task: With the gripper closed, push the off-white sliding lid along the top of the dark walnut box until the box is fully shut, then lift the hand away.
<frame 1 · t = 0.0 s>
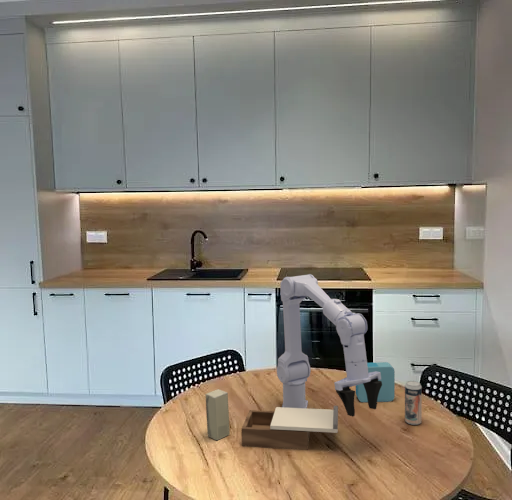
hand: (362, 412, 127), 11 cm above the table, tool pointing down, fingers open, 7 cm apart
box: (218, 436, 139), on the table
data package: (374, 400, 161), on the table
walnut box: (277, 437, 137), on the table
beer can: (413, 422, 144), on the table
lid: (305, 417, 135), point 6 cm above the table, slide at 8.0 cm
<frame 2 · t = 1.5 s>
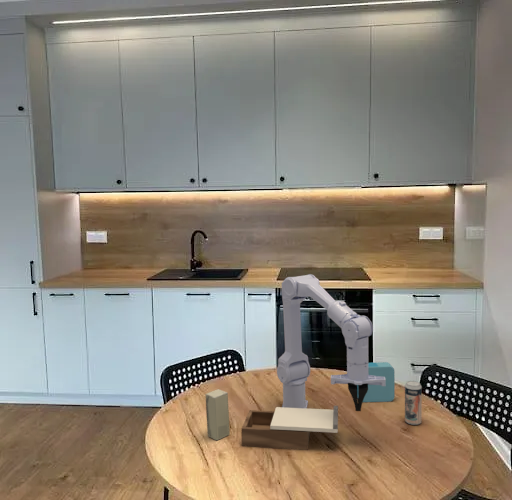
hand: (358, 409, 132), 9 cm above the table, tool pointing down, fingers closed
nothing on the table moved.
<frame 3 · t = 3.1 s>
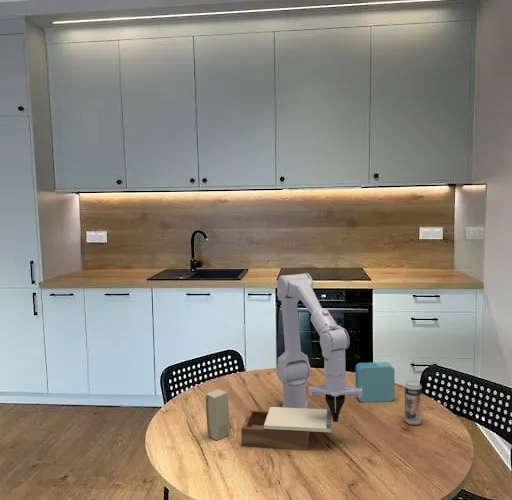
hand: (335, 420, 133), 6 cm above the table, tool pointing down, fingers closed
lid: (298, 416, 135), point 6 cm above the table, slide at 6.2 cm, touching gripper
everything else where it was.
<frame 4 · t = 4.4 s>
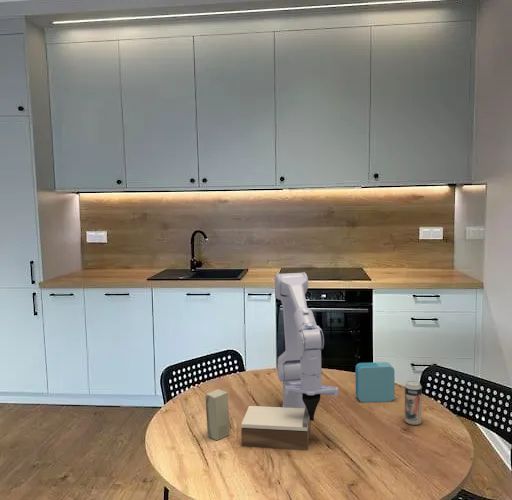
hand: (311, 419, 134), 6 cm above the table, tool pointing down, fingers closed
lid: (276, 415, 136), point 6 cm above the table, slide at -0.1 cm, touching gripper
everything else where it was.
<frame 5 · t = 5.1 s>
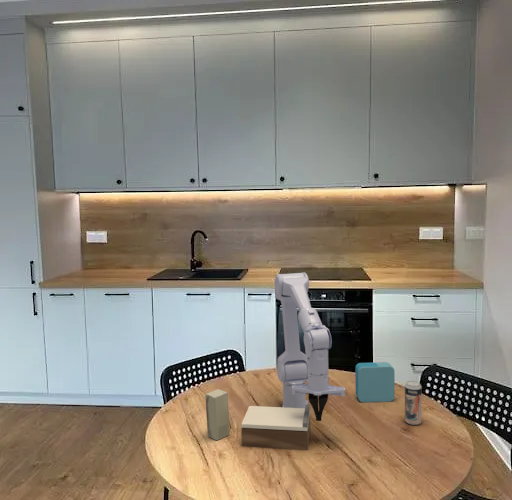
hand: (318, 419, 134), 6 cm above the table, tool pointing down, fingers closed
lid: (276, 415, 136), point 6 cm above the table, slide at 0.0 cm
everything else where it was.
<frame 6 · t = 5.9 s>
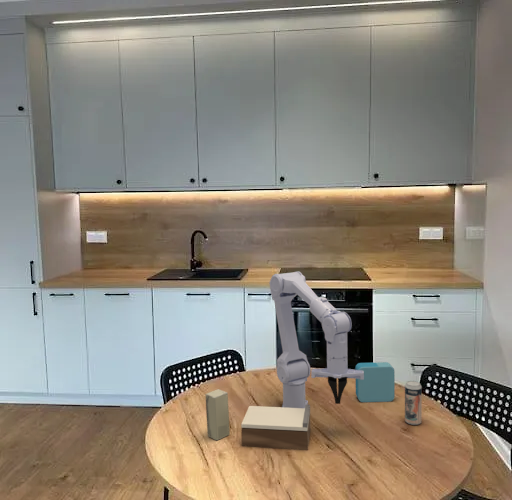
hand: (337, 402, 137), 9 cm above the table, tool pointing down, fingers closed
nothing on the table moved.
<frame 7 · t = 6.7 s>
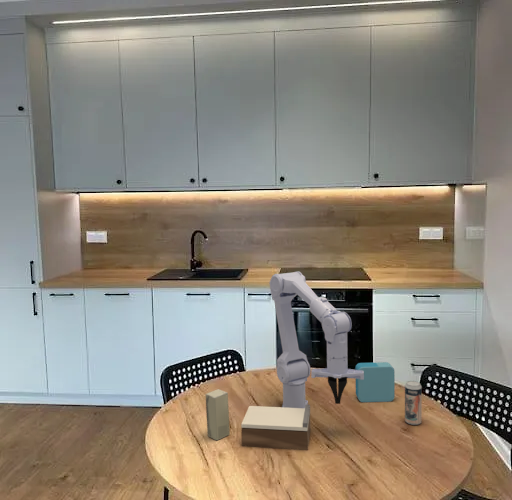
hand: (337, 402, 137), 9 cm above the table, tool pointing down, fingers closed
nothing on the table moved.
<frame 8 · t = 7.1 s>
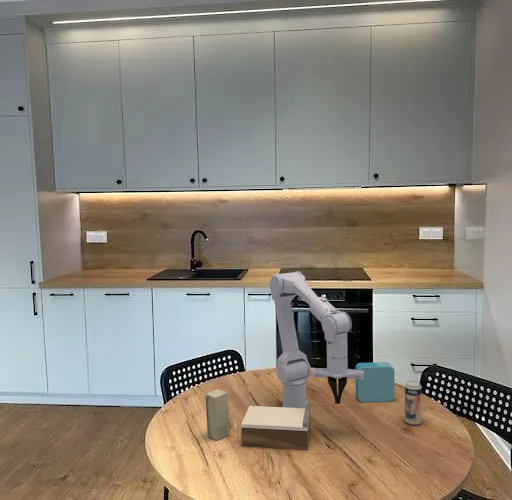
hand: (337, 402, 137), 9 cm above the table, tool pointing down, fingers closed
nothing on the table moved.
at the end: lid slide at 0.0 cm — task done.
